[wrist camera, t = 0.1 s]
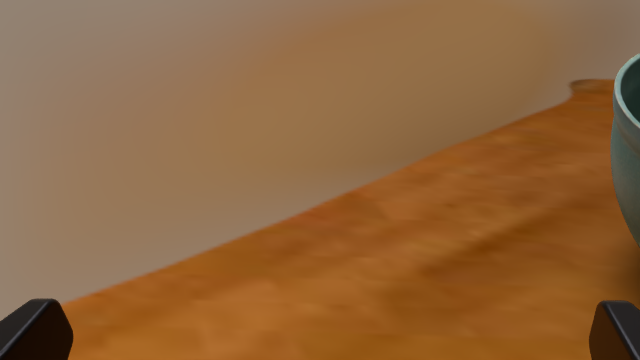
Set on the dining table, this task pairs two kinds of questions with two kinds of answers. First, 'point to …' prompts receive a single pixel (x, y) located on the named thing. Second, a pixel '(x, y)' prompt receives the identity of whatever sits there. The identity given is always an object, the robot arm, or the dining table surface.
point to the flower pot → (627, 143)
